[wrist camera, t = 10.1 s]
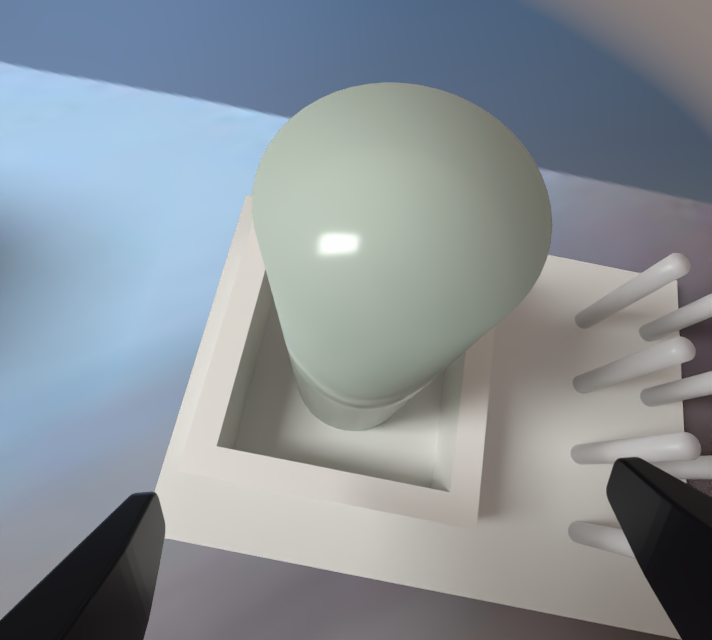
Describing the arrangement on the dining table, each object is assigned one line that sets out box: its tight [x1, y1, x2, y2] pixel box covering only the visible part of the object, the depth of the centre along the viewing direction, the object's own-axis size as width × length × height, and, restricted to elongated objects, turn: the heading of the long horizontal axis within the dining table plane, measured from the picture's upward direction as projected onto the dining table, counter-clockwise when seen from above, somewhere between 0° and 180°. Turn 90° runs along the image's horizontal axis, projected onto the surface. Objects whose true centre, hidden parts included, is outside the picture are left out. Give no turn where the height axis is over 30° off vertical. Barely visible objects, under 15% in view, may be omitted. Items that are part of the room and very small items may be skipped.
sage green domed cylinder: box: [252, 83, 552, 431], centre depth 14 cm, size 5×5×13 cm
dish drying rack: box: [155, 195, 712, 640], centre depth 17 cm, size 21×15×7 cm
